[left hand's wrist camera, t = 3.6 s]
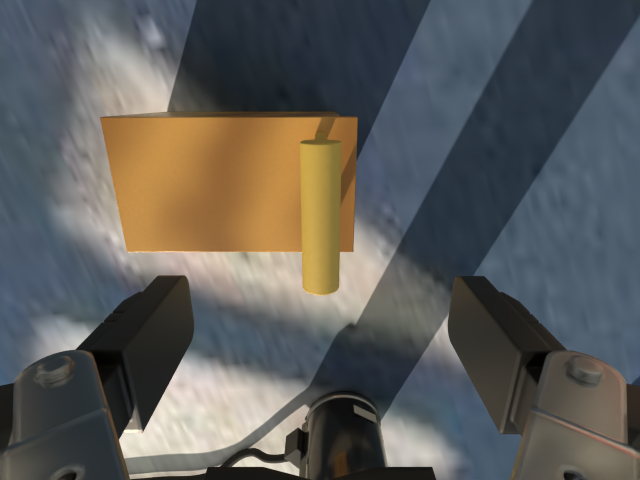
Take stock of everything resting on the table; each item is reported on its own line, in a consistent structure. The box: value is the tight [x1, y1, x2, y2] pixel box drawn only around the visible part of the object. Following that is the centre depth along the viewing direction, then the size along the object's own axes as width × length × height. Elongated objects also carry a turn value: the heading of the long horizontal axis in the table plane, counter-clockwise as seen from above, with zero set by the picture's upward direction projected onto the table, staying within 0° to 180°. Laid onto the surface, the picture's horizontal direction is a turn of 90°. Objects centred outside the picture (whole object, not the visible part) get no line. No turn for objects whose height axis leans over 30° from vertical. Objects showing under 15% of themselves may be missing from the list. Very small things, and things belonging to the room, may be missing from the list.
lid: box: [100, 116, 358, 295], centre depth 23 cm, size 17×10×9 cm, turn 90°
